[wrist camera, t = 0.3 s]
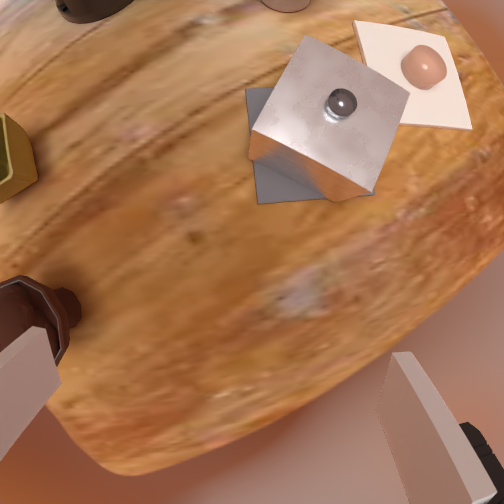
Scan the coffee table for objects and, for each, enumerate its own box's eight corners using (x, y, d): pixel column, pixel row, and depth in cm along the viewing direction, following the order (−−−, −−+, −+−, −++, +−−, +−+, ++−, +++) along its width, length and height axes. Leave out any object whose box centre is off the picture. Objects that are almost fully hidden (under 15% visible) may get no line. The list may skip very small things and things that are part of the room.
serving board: (352, 24, 35) (354, 20, 34) (441, 39, 36) (444, 36, 35) (376, 124, 36) (380, 122, 35) (468, 131, 37) (472, 129, 36)
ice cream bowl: (23, 279, 36) (-52, 299, 21) (85, 257, 36) (11, 272, 21) (48, 353, 37) (-16, 397, 22) (112, 339, 37) (54, 391, 22)
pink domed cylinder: (396, 53, 35) (407, 41, 31) (428, 58, 35) (440, 48, 31) (406, 88, 35) (418, 78, 32) (438, 92, 35) (451, 83, 32)
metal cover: (288, 82, 35) (308, 27, 23) (368, 125, 36) (416, 88, 24) (247, 158, 36) (252, 124, 23) (334, 202, 36) (377, 190, 24)
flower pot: (40, 128, 35) (3, 109, 26) (53, 184, 35) (12, 175, 26) (-2, 158, 34) (-42, 148, 25) (8, 213, 35) (-34, 210, 26)
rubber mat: (245, 90, 35) (245, 89, 35) (355, 88, 36) (356, 87, 35) (257, 204, 36) (257, 203, 36) (373, 195, 37) (374, 194, 36)
